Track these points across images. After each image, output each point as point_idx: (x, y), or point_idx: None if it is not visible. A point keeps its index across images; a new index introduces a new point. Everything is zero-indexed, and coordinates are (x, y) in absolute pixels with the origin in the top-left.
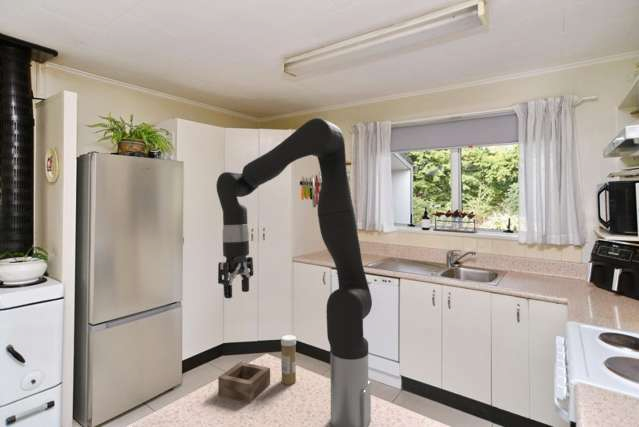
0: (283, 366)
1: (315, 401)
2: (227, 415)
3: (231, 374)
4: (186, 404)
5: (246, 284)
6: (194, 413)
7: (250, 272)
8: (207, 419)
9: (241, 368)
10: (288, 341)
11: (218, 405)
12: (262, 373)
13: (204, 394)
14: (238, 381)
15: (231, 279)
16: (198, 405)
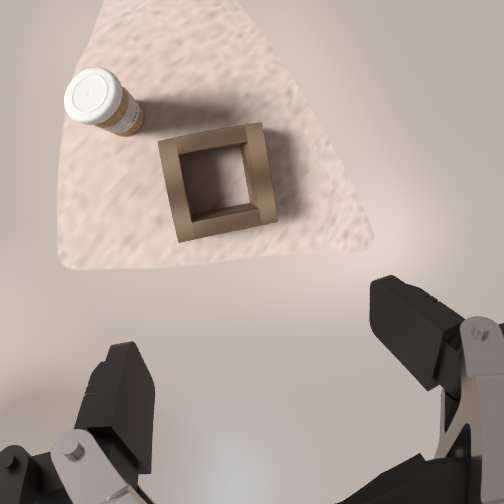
0: (135, 111)
1: (171, 22)
2: (308, 139)
3: (240, 211)
4: (323, 241)
5: (126, 396)
6: (335, 201)
7: (30, 493)
8: (335, 164)
9: (194, 220)
10: (113, 74)
11: (294, 181)
12: (196, 134)
13: (280, 242)
14: (265, 159)
15: (492, 358)
16: (314, 217)
